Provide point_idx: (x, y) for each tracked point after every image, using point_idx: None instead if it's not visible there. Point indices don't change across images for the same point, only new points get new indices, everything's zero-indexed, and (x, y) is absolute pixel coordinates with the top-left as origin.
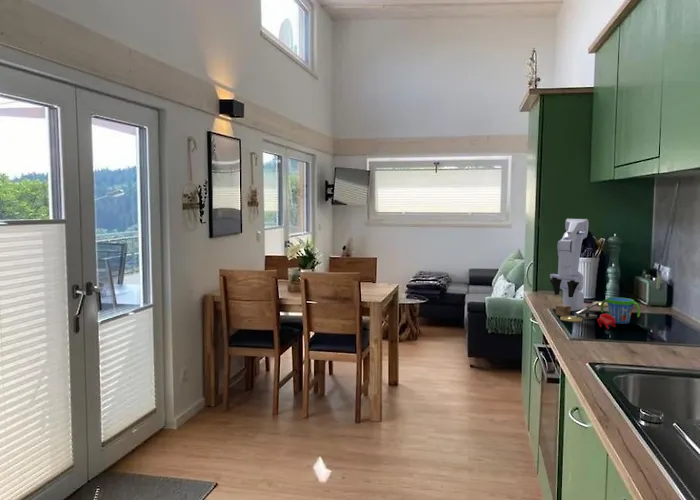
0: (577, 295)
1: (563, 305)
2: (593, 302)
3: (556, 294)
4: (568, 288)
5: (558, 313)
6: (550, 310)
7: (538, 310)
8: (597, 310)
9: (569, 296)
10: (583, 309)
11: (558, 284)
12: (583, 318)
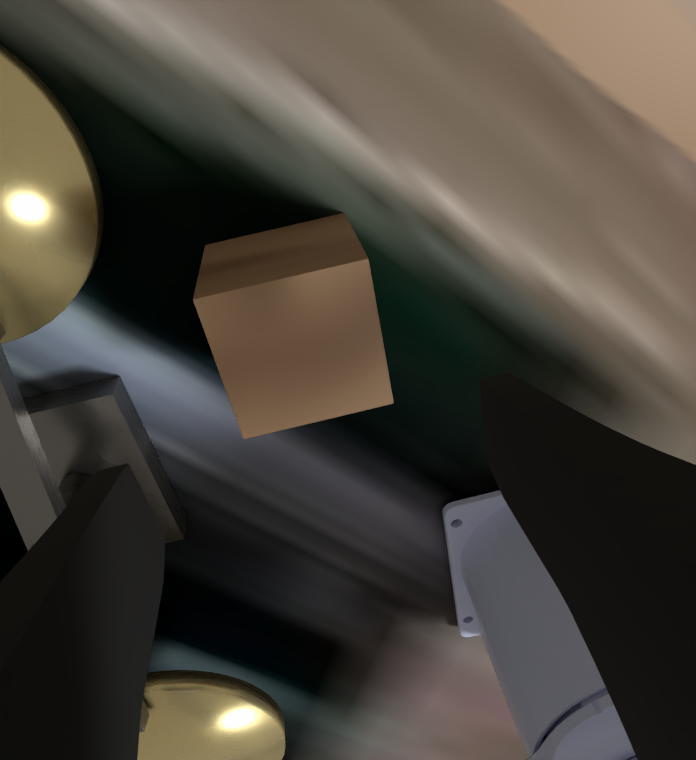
0: (515, 710)
1: (310, 364)
2: (243, 711)
3: (483, 398)
4: (16, 626)
5: (295, 232)
6: (585, 325)
7: (666, 169)
8: (396, 685)
9: (94, 478)
10: (26, 486)
11: (611, 639)
12: (24, 400)
